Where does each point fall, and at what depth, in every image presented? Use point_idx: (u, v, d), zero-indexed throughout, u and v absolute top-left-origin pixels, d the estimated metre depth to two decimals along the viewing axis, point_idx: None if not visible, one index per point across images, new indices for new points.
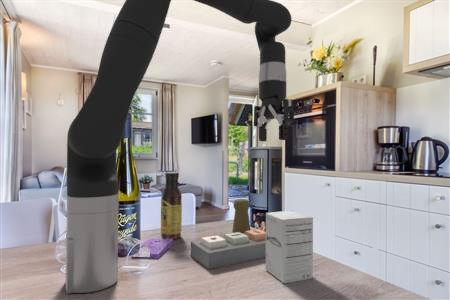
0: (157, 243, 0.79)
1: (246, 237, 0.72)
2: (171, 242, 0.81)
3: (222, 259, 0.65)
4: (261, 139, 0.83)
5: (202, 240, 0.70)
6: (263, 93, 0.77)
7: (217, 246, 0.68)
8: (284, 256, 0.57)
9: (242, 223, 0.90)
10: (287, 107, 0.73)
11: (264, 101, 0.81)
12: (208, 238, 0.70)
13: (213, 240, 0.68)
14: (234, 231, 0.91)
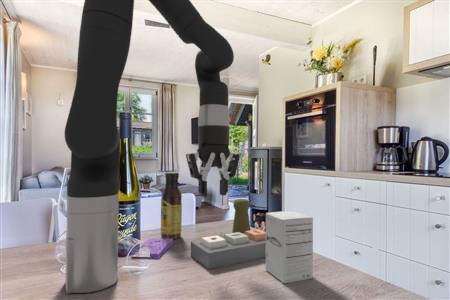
0: (157, 243, 0.79)
1: (246, 237, 0.72)
2: (171, 242, 0.81)
3: (222, 259, 0.65)
4: None
5: (202, 240, 0.70)
6: (224, 140, 0.68)
7: (217, 246, 0.68)
8: (284, 256, 0.57)
9: (242, 223, 0.90)
10: None
11: (208, 146, 0.68)
12: (208, 238, 0.70)
13: (213, 240, 0.68)
14: (234, 231, 0.91)
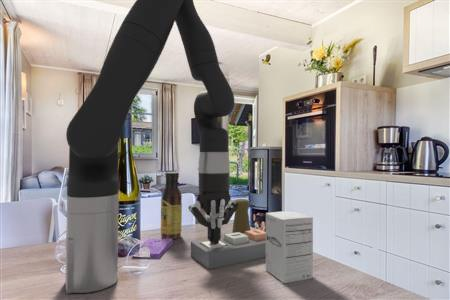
0: (157, 243, 0.79)
1: (246, 237, 0.72)
2: (171, 242, 0.81)
3: (222, 259, 0.65)
4: None
5: None
6: (224, 188, 0.67)
7: None
8: (284, 256, 0.57)
9: (242, 223, 0.90)
10: None
11: (208, 193, 0.68)
12: (208, 243, 0.70)
13: (213, 245, 0.68)
14: (234, 231, 0.91)
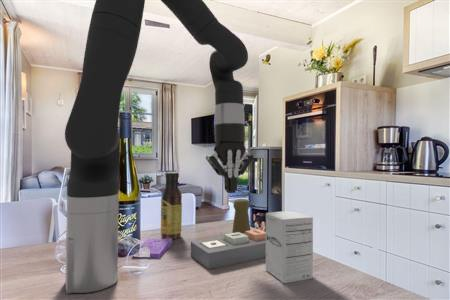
0: (157, 243, 0.79)
1: (246, 237, 0.72)
2: (170, 242, 0.81)
3: (222, 259, 0.65)
4: None
5: None
6: (240, 137, 0.70)
7: None
8: (284, 256, 0.57)
9: (242, 223, 0.90)
10: None
11: (225, 143, 0.71)
12: (208, 243, 0.70)
13: (213, 245, 0.68)
14: (234, 231, 0.91)
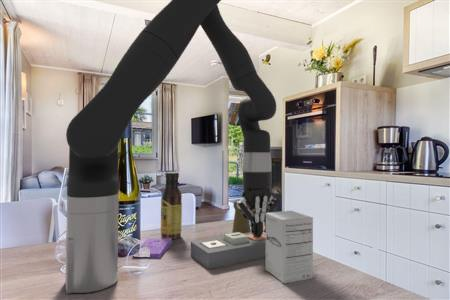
0: (157, 242, 0.79)
1: (246, 237, 0.72)
2: (170, 242, 0.81)
3: (222, 259, 0.65)
4: None
5: None
6: (268, 185, 0.74)
7: None
8: (284, 256, 0.57)
9: (242, 223, 0.90)
10: None
11: (253, 190, 0.74)
12: (208, 243, 0.70)
13: (213, 245, 0.68)
14: (234, 231, 0.91)
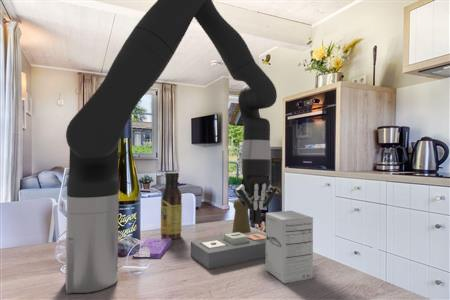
0: (156, 243, 0.79)
1: (246, 237, 0.72)
2: (170, 242, 0.81)
3: (222, 259, 0.65)
4: None
5: None
6: (267, 172, 0.74)
7: None
8: (284, 256, 0.57)
9: (242, 223, 0.90)
10: None
11: (252, 177, 0.75)
12: (208, 243, 0.70)
13: (213, 245, 0.68)
14: (234, 231, 0.91)
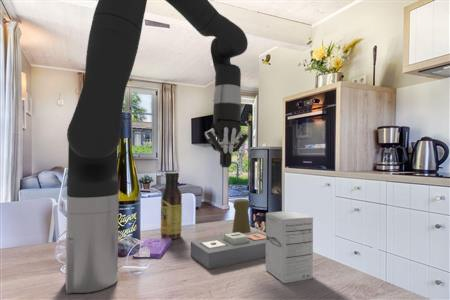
0: (156, 242, 0.79)
1: (246, 237, 0.72)
2: (170, 242, 0.81)
3: (222, 259, 0.65)
4: None
5: None
6: (236, 116, 0.76)
7: None
8: (284, 256, 0.57)
9: (242, 223, 0.90)
10: None
11: (222, 121, 0.77)
12: (208, 243, 0.70)
13: (213, 245, 0.68)
14: (234, 231, 0.91)
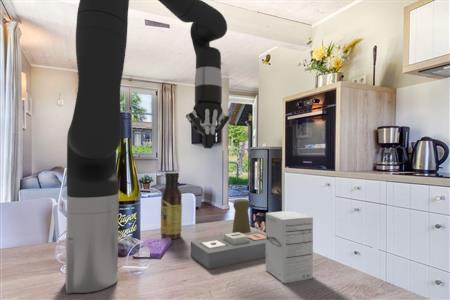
0: (156, 242, 0.79)
1: (246, 237, 0.72)
2: (170, 241, 0.82)
3: (222, 259, 0.65)
4: None
5: None
6: (216, 98, 0.78)
7: None
8: (284, 256, 0.57)
9: (242, 223, 0.90)
10: None
11: (203, 103, 0.79)
12: (208, 243, 0.70)
13: (213, 245, 0.68)
14: (234, 231, 0.91)
